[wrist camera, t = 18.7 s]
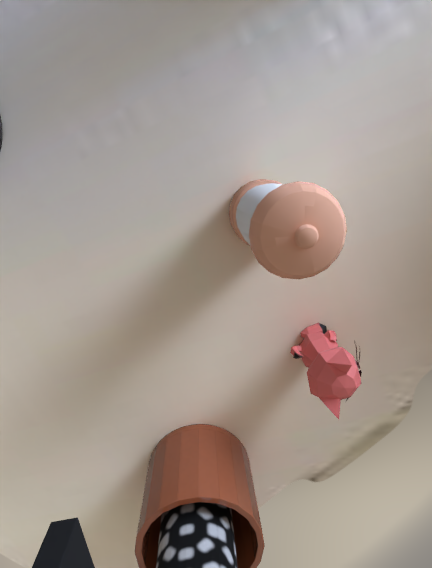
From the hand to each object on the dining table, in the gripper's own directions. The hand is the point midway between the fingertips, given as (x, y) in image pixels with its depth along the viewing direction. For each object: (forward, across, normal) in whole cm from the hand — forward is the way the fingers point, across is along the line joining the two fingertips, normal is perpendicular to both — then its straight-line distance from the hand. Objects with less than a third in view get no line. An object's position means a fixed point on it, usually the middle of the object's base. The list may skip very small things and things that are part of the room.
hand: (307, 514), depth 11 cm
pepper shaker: (+35, +5, +5) cm, 36 cm away
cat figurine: (+35, +9, -12) cm, 38 cm away
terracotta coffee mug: (+35, -8, -30) cm, 47 cm away
